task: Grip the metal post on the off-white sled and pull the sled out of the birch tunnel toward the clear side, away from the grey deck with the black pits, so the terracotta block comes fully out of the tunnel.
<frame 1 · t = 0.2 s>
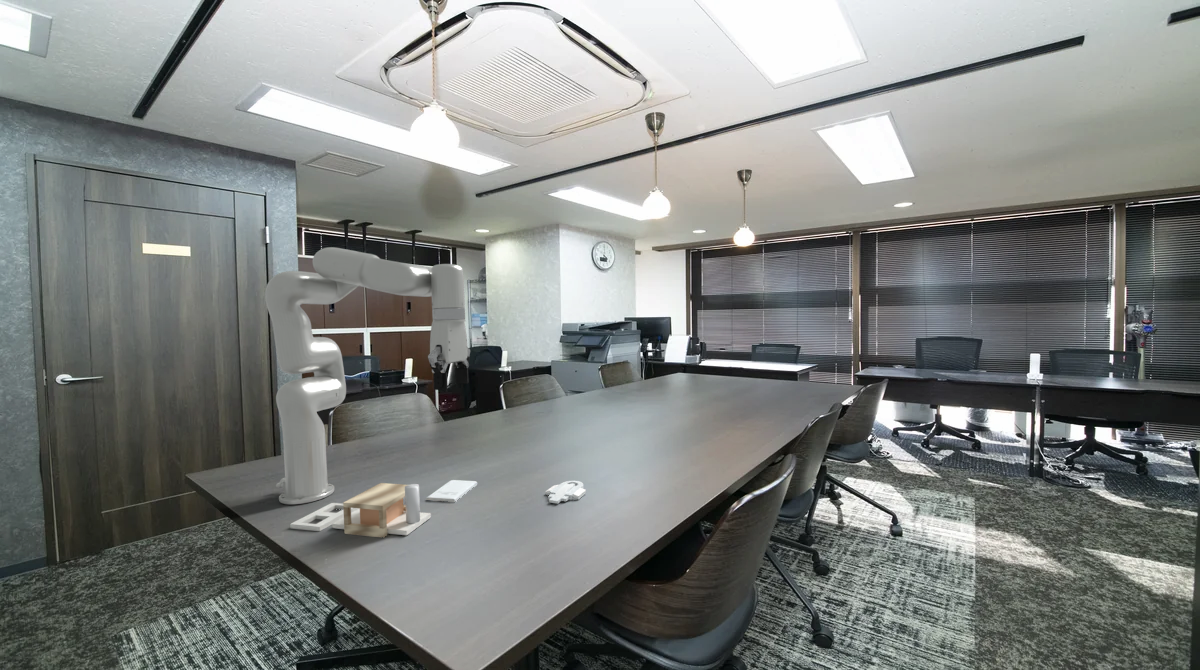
hand: (452, 386, 112), 30 cm above the table, tool pointing down, fingers open, 9 cm apart
external hard drive: (452, 495, 125), on the table
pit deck: (326, 518, 110), on the table
toy rocket: (568, 495, 122), on the table
tunnel: (382, 523, 106), on the table
sled: (381, 503, 106), point 5 cm above the table, slide at 0.0 cm
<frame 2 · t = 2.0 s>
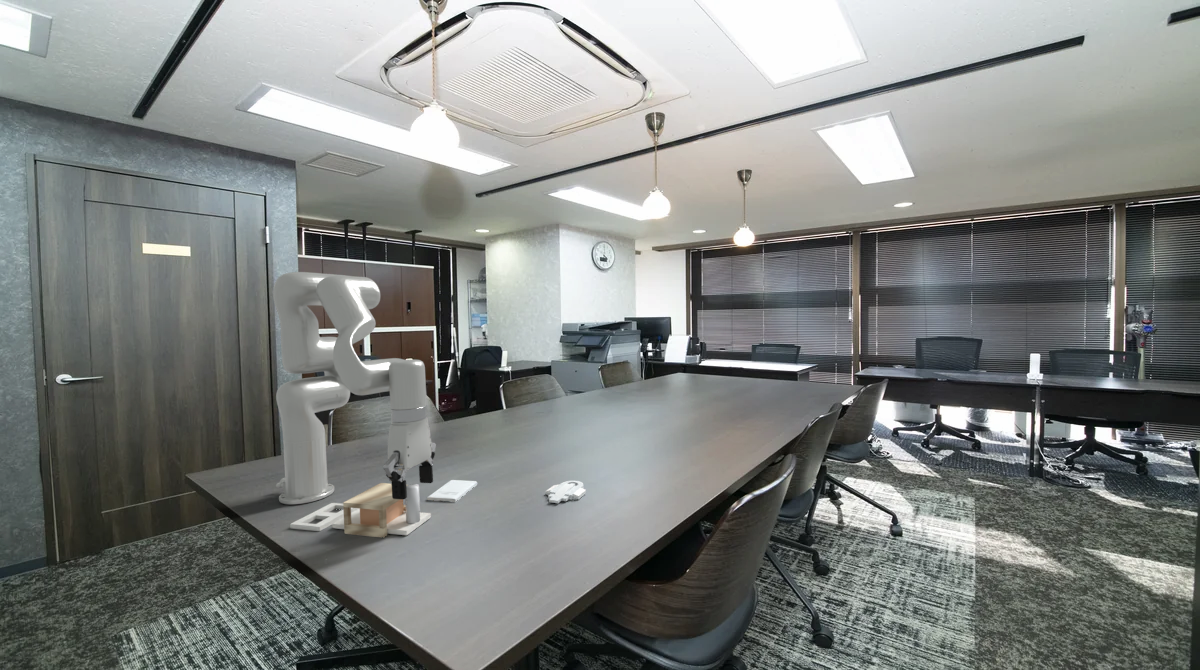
hand: (413, 490, 104), 8 cm above the table, tool pointing down, fingers open, 9 cm apart
nothing on the table moved.
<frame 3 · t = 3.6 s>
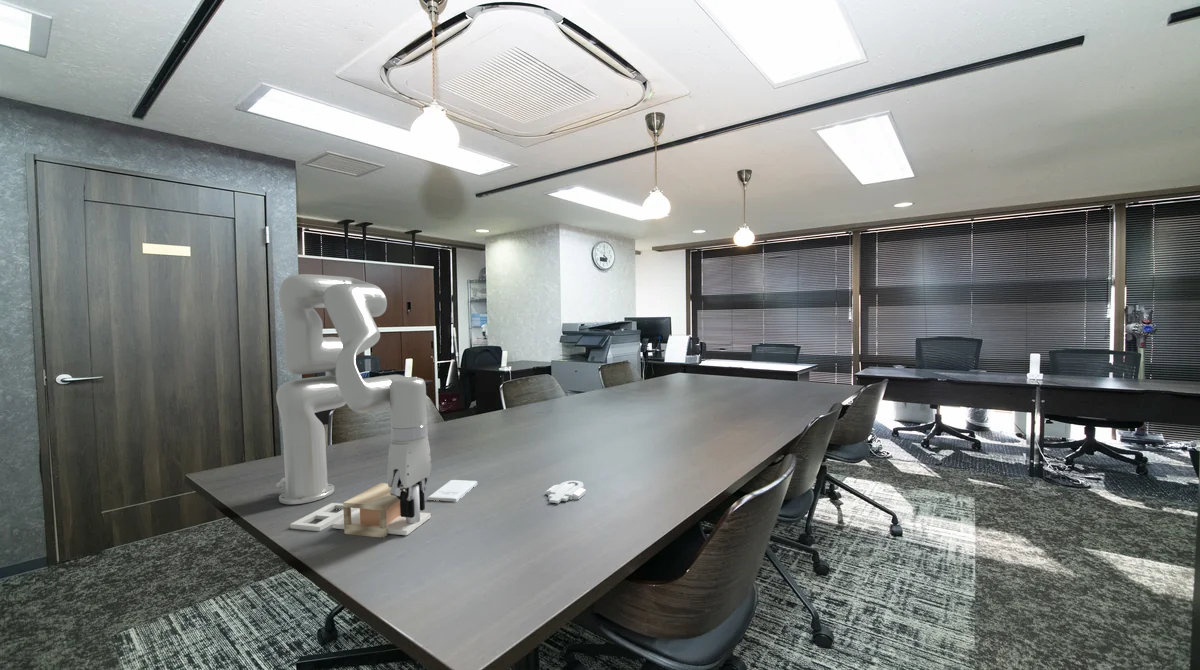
hand: (412, 512, 104), 3 cm above the table, tool pointing down, fingers closed on sled, 3 cm apart
sled: (381, 503, 106), point 5 cm above the table, slide at 0.0 cm, touching gripper
everything else where it was.
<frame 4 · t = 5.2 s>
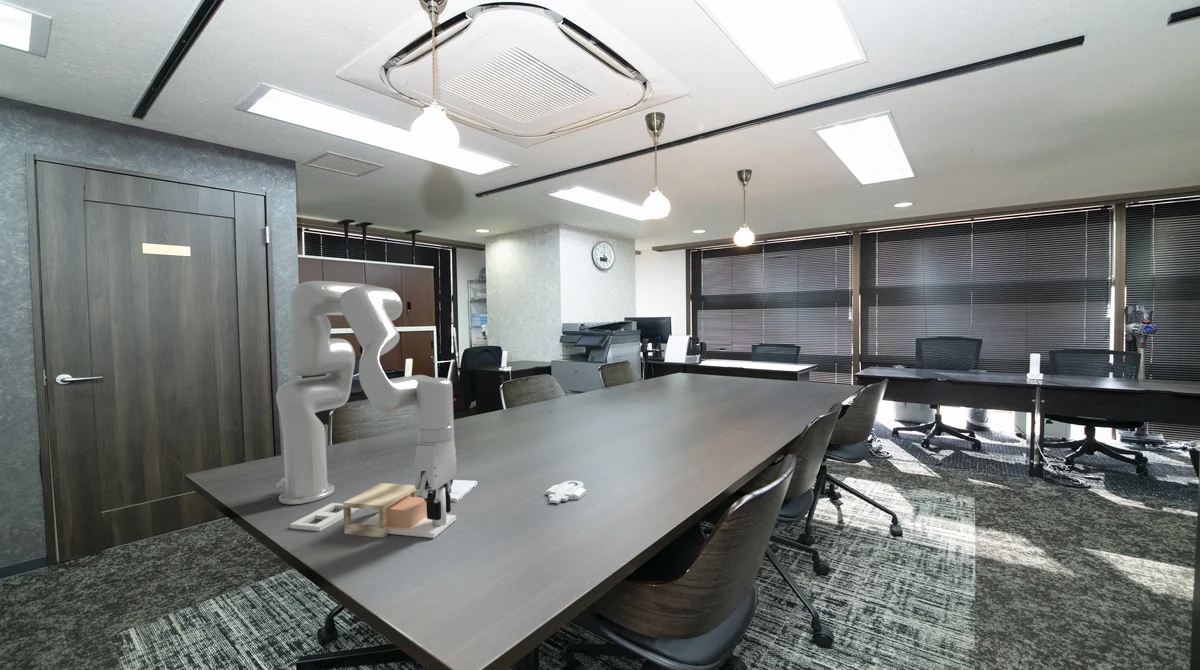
hand: (439, 514, 103), 3 cm above the table, tool pointing down, fingers closed on sled, 3 cm apart
sled: (407, 505, 105), point 5 cm above the table, slide at 6.6 cm, touching gripper
everything else where it was.
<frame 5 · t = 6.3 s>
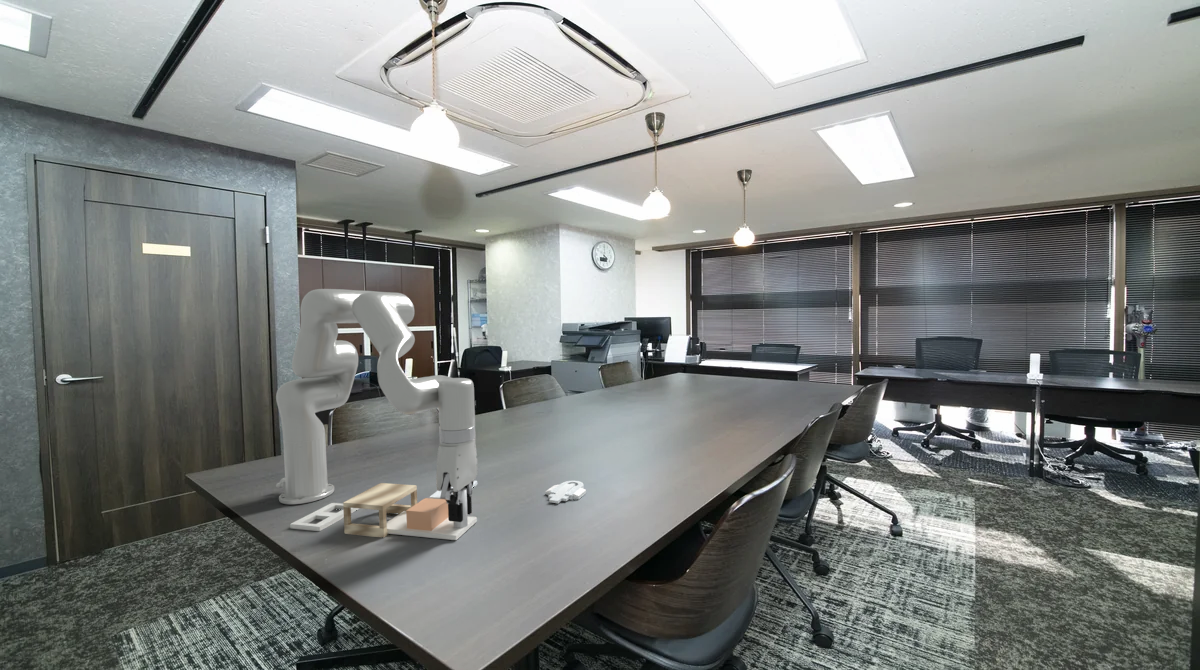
hand: (460, 516, 102), 3 cm above the table, tool pointing down, fingers closed on sled, 3 cm apart
sled: (427, 507, 104), point 5 cm above the table, slide at 11.9 cm, touching gripper
everything else where it was.
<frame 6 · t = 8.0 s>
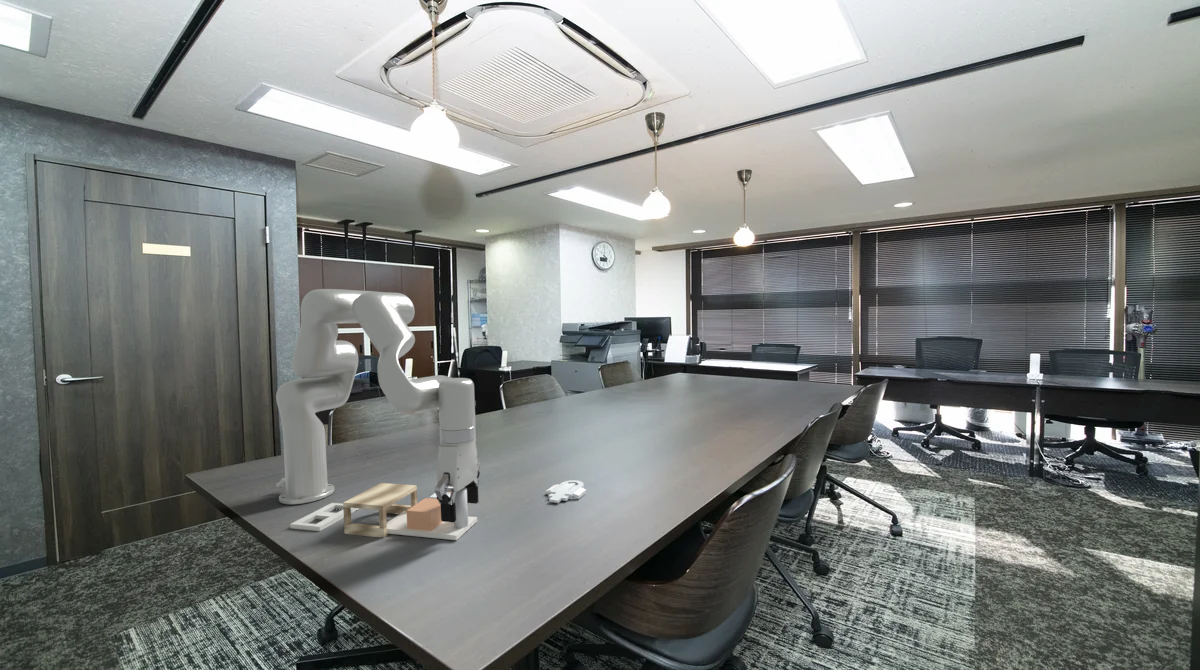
hand: (460, 511, 102), 4 cm above the table, tool pointing down, fingers open, 9 cm apart
sled: (428, 507, 104), point 5 cm above the table, slide at 11.9 cm
everything else where it was.
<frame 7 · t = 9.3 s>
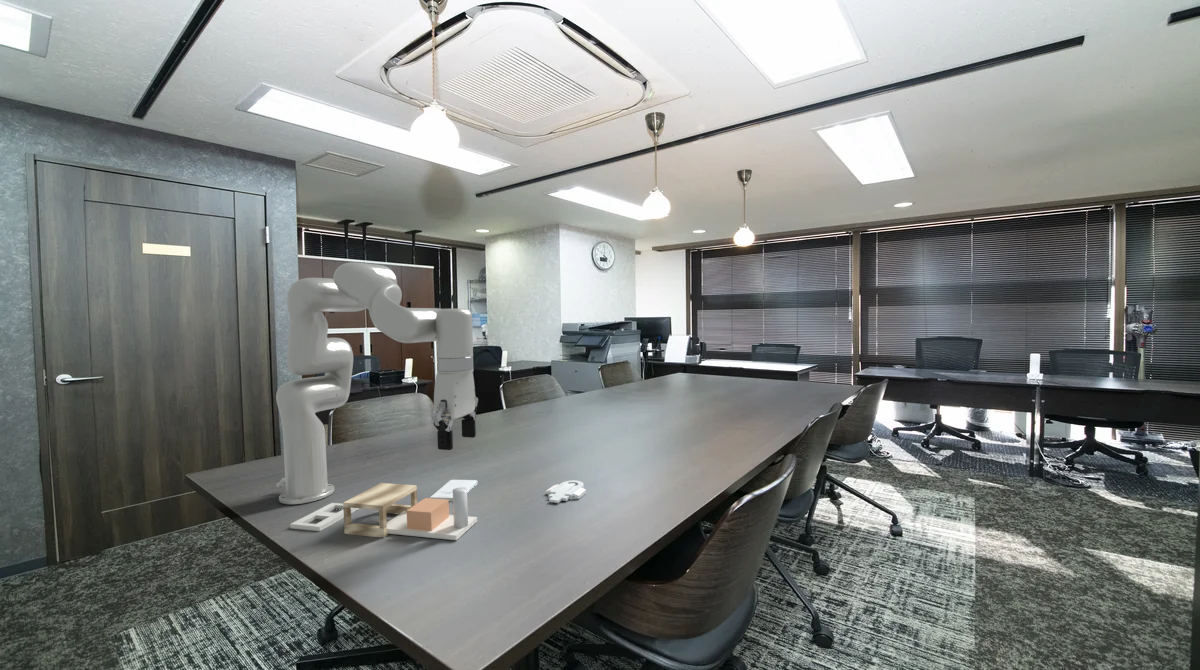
hand: (457, 442, 101), 20 cm above the table, tool pointing down, fingers open, 9 cm apart
nothing on the table moved.
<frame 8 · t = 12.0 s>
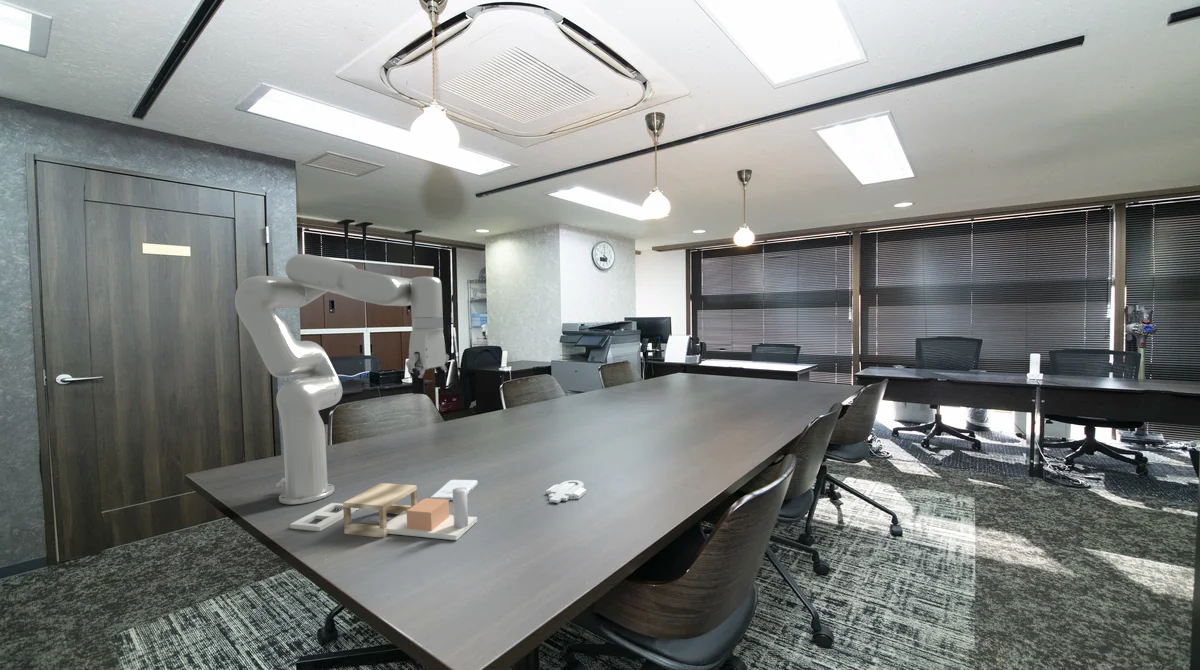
hand: (430, 390, 120), 28 cm above the table, tool pointing down, fingers open, 9 cm apart
nothing on the table moved.
at the end: sled slide at 11.9 cm; external hard drive moved 1.1 cm from its start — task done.
